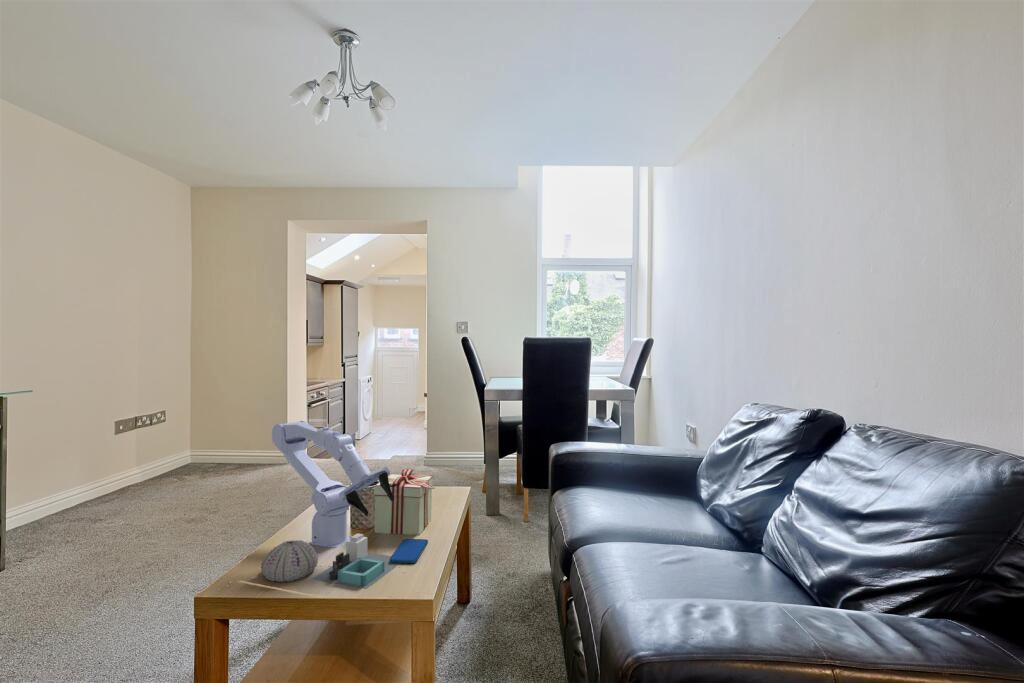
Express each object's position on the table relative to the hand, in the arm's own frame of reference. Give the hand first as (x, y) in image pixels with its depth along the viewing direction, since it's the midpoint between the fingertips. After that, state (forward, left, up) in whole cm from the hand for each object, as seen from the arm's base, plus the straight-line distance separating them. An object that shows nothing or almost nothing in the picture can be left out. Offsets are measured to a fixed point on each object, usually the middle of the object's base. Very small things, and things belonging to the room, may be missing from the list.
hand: (380, 506), depth 136 cm
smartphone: (+6, +5, -14) cm, 16 cm away
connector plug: (-5, -3, -13) cm, 15 cm away
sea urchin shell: (-16, -16, -14) cm, 26 cm away
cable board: (0, -8, -14) cm, 16 cm away
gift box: (-5, +24, -14) cm, 28 cm away
